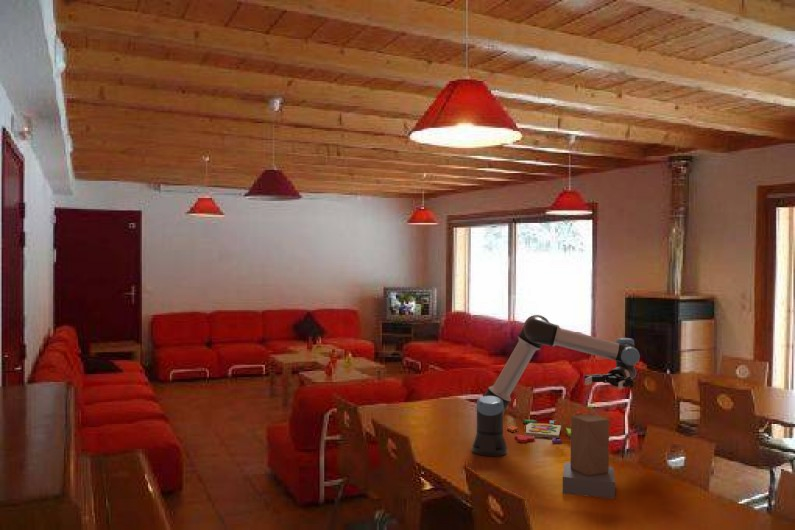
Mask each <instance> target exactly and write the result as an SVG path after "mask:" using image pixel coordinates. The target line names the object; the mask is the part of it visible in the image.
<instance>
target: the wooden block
mask: <svg viewBox="0 0 795 530" xmlns="http://www.w3.org/2000/svg"><path fill="white" fill-rule="evenodd" d="M570 429H571V437H570V462H569V463H570V467H571V469H574V470H576V471H578V472H580V473H582V474H584V475H587V476H591V475H598V474H604V473H608V472H609V467H610V465H609V464H610V462H609V459H610V457H609V456H610V419H608V418H605V417H602V416H599V415H597V414H593V413H587V414H586V413H585V414H578V415H571V417H570Z"/></svg>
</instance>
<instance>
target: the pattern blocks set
mask: <svg viewBox="0 0 795 530" xmlns="http://www.w3.org/2000/svg"><path fill="white" fill-rule="evenodd" d="M554 421H555V420H549V423H540V422H538V421H537V420H536V419H522V424H523V423H527V424H525V426H526V434H525V435H524V434H515V436H514V440H516V439H517V440H516V442H517V441H518V442H517V443H519V442H521V443H520V444H527V443H528V442H527V441H533V442H534V441H535V440H536V439H535V438H539V437H551V438H550V439H552V440H551V444H552V443H556V444H563V439H560V433H561V430H562V429H561V428H562V425H561V424H560V425H554ZM507 430H509V431H511V432H514V431H517V430H518V431H519V428H518V427H517V426H515V425H514V424H513V425H509V426H507V427H506V431H507ZM509 431H508V432H509ZM518 431H517V432H518ZM511 432H510V433H511ZM514 433H515V432H514ZM565 433H566V434H567V437H568V438H571V428H567V427H565ZM533 436H534V437H533ZM556 438H559V439H556ZM526 442H527V443H526Z"/></svg>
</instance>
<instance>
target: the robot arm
mask: <svg viewBox="0 0 795 530" xmlns="http://www.w3.org/2000/svg"><path fill="white" fill-rule="evenodd" d="M517 338H518V342H517V343H516V346H515V348H514V349H513V350H512V352H511V354H510V356H509V358H508V360H507V361H506V363H505V365H504V367H503V369H502V370H501V372H500V374H499V375H498V377H497V378H496V381H495V382H494V384H493V385H490V386H488V388H487V390H486V391H485V393H484V395H483V396H480V397H478V399H477V401H476V405H475V406H476V434H475V437H474V439H473V443H472V447H471V448H472V450H471V451H472V452H473V453H474V454H476V455H479V456H484V457H500V456H501V457H502V456H504V455H506V454H507V453H508V446H507V444H506V440H505V437H504V416H505V415H504V414H505V412H506V410H507V408H508V406H509V404H510V402H511V401H512V399H511V394H512V392H513V391H514V389H515V387H516V386H517V384H518V382H519V380H520V379H521V377H522V375H523V373H524V371H525V370H526V368H527V366H528V365H529V363H530V361H531V360H532V358H533V356H534V354H535V353H536V351H540V350H541V348H543V345H544V346H549V347H552V348H553V347H555V346H559V347H563V348H566V349H571V350H574V351H576V352H577V351H578V352H581V353H585V354H589V355H593V356H597V357H599V358H601V357H602V358H603V359H607V360H608V359H609V360H613V361H615V368H612V369H611V370H609V371H608V372H607V374H605V373H603V374H602V373H596V374H595V373H594V374H585V375H584V380H583V381H584V386H588V385H591V384H593V383H603V384H605V383H606V384H609V385H611V386H612V387H617V389H618V390H622V389H624V388H629V387H630V388H634V386H635V385H634V382H635V381H634V379H635V377H636V375H637V369H636V368H635V365H636V364H638V363H639V361H640V359H641V355H640V352H639V350H638V349H637V348H636V347H635V340H634V339H633V338H629V337H618V338H617V339H616V342H615V341H611V340H607V339H605V338H604V339H603V338H599V337H596V336H592V335H587V334H585V333H580V332H577V331H572V330H569V329H565V328H561V327H560V326H559V324H554V323H551V322H550V321H549V320H548V319H547V318H546V317H545V316H544V315H539V314H534V315H531V316H529V317H527V319H526V320H525V321H524V325H523V326H522V328H521V330H520V331H519V334H518V335H517Z"/></svg>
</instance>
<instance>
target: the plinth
mask: <svg viewBox="0 0 795 530" xmlns="http://www.w3.org/2000/svg"><path fill="white" fill-rule="evenodd" d="M570 463H571V462H565V461H564V464H563V471H562V472H563V473H562V494H565V495H575V496H582V495H587V496H586V497H591V496H597V497H596V498H600V497H605V498H604V499H609V498H615V499H616V495H615V494H616V479H615V471H614V470H615V469H614V467H613V466H609V472H608V473H604V474H598V475H591V476H587V475H584V474H582V473H580V472H578V471H576V470H574V469H571V467H570Z"/></svg>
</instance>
